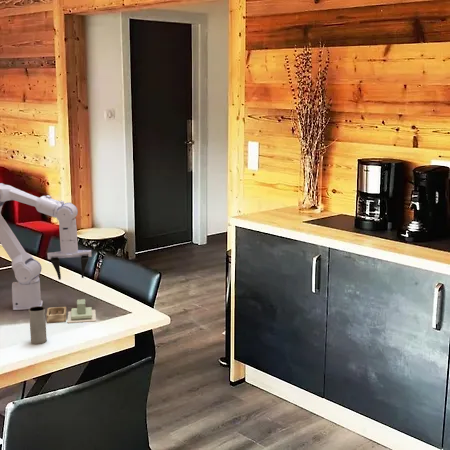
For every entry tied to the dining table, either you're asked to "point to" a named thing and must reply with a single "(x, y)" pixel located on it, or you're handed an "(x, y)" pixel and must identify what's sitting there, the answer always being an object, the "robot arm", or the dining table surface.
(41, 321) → the cardboard tube
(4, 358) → the dining table surface
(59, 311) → the box
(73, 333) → the dining table surface
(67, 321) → the mat
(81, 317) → the lid
